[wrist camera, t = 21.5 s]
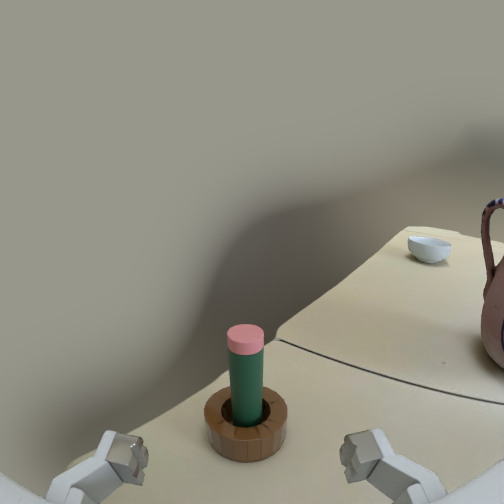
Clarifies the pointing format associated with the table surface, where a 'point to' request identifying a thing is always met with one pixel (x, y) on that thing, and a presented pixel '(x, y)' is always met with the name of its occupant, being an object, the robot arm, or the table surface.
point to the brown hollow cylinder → (245, 439)
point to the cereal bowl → (429, 249)
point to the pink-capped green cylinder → (246, 374)
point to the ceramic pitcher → (492, 292)
